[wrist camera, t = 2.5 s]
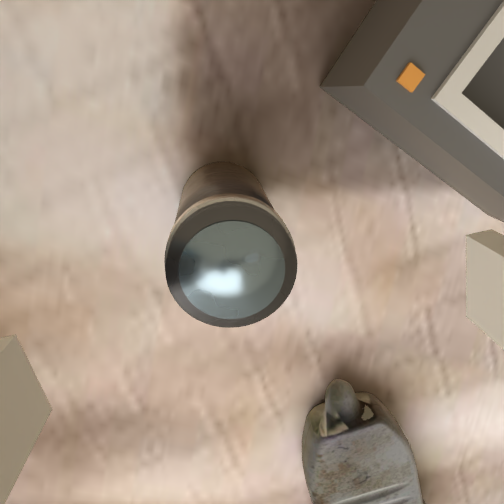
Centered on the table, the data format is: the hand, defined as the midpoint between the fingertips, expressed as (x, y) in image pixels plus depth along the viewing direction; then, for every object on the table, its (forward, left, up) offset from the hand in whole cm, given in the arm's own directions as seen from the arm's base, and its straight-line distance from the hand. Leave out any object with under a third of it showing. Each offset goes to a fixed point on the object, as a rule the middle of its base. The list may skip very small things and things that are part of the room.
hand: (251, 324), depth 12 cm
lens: (0, 0, -14) cm, 14 cm away
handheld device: (+21, -13, -14) cm, 28 cm away
